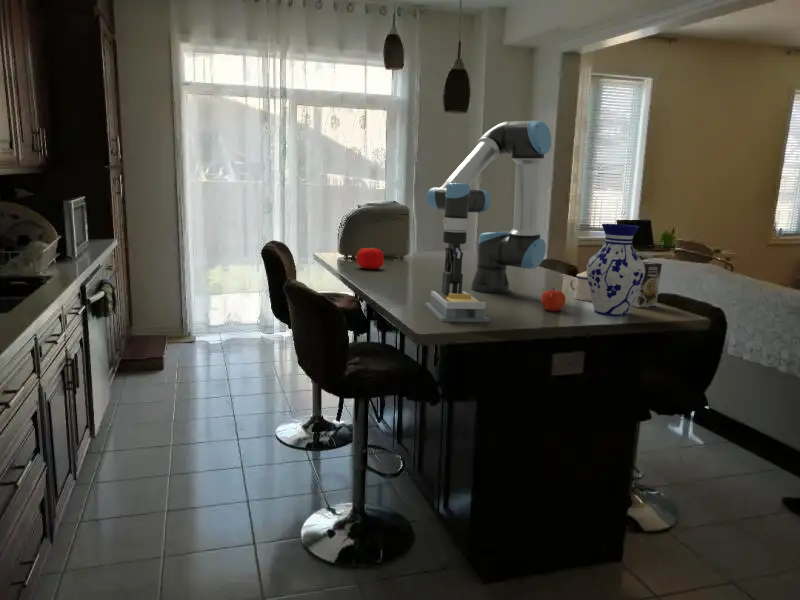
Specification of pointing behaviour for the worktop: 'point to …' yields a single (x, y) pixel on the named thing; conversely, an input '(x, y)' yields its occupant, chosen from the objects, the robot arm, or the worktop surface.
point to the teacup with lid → (581, 287)
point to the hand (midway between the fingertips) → (450, 300)
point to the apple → (553, 300)
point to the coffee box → (649, 286)
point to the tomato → (370, 258)
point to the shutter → (460, 298)
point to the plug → (447, 285)
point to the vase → (615, 271)
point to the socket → (456, 309)
